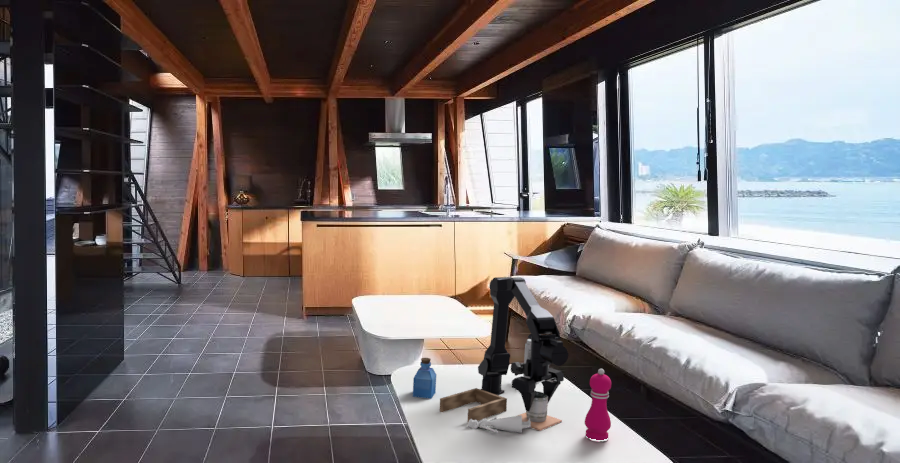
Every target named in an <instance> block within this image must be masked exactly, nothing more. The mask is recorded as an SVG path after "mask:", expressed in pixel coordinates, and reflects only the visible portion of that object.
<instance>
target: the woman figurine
mask: <svg viewBox="0 0 900 463" xmlns="http://www.w3.org/2000/svg"><path fill="white" fill-rule="evenodd" d="M518 415H519V416H517V415H515V416H514V415H513V416H506V417H501V418H500V417H499V418H498V416H495V417H492V418H490V419H487V418H484V419H482V420H479V421H477V420H472V419H470V420H469V422H467V425H468V427H469V428H470V429H477V428H478V427H479V428H481V429H485V430H488V431H491V432H494V433H495V434H498V433H499V431H504V432H511V433H518V434H519V433H520V434H523V433H522V432H523V429H526V428H527V429H528V428H531V425H530V424H531V422H530V418H529V420H528V421H527V422H522V415H520V414H518ZM491 427H492V428H494V429H492V428H491ZM498 430H499V431H498Z"/></svg>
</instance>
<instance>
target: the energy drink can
mask: <svg viewBox="0 0 900 463" xmlns="http://www.w3.org/2000/svg"><path fill="white" fill-rule="evenodd" d="M530 351H531V339H529V338H528V339H526V342H525V344H524V355H523V356H524V359H523V363H526V360H527V359H529V358H530ZM522 376H523V377H526V378H529V379H530V377H529V376H528V377H527V376H524V374H522Z"/></svg>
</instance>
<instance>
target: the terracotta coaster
mask: <svg viewBox="0 0 900 463" xmlns="http://www.w3.org/2000/svg"><path fill="white" fill-rule="evenodd" d="M519 415H522V422H527V421H528V419H527V416H526V412H524V413H523V412H522V413H521V414H520V413H519V414H517V415H516V416H519ZM530 422H531V424H530V425H531V427H530V428H531V429H534V430H536V431H540V432H541V431H543V429H544V430H545V429H548V427H549V428H551V427H553V426H555V424H556V425H558V424H561V423H563V419H559V418H557V417H553V416H551V415H549V414H547V417H546V420H545V421H544V422H532V421H530ZM560 422H561V423H560ZM557 423H558V424H557ZM550 426H551V427H550Z"/></svg>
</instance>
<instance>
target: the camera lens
mask: <svg viewBox="0 0 900 463" xmlns="http://www.w3.org/2000/svg"><path fill="white" fill-rule="evenodd" d="M535 391H536V390H535ZM548 404H549V403H548V396H547V395H546V394H544V393H543V391H536V393H535V396H534V399H533V402H532V406H531V408H530V411H526V410H525V413H526V416H527V419H528V420H529V418H530V421H532V422H544V421H545V420H546V417H547V415H548Z"/></svg>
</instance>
